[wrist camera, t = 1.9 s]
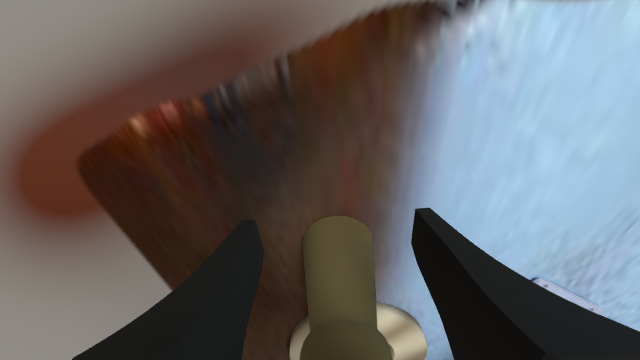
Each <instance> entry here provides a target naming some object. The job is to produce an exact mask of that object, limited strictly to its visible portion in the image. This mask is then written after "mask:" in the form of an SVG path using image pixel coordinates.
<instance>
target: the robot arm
mask: <svg viewBox="0 0 640 360" xmlns="http://www.w3.org/2000/svg"><path fill="white" fill-rule="evenodd" d="M411 244H412V247H413V251H414V254H415V258H416V261H417V264H418V266H419V269H420V271H421V273H422V276H423V278H424V280H425V283H426V285H427V287H428V289H429V292H430V294H431V296H432V299H433V301H434V303H435V305H436V308H437V310H438V312H439V315H440V318H441V320H442V323H443V326H444V329H445V332H446V335H447V338H448V341H449V344H450V347H451V350H452V354H453V357H454V360H640V332H639V331H637V330H635V329H632V328H630V327H627V326H625V325H623V324H620V323H618V322H616V321H613V320H611V319H608V318H606V317H604V316H601V315H599V314H601V313H602V310H601V309H600V308H599V307H598V306H596V305H594V304H592V303H590V302H588V301H586V300H584V299H582V298H580V297H578V296H576V295H574V294H572V293H570V292H568V291H566V290H564V289H563V288H561V287H559V286H557V285H555V284H553V283H551V282H549V281H547V280H545V279H543V278H538V279H535V280H534V281H530V280H528V279H527V278H525V277H523V276H521V275H520V274H518V273H516V272H515V271H513V270H511V269H510V268H508V267H507V266H505V265H503V264H502V263H500V262H499V261H497V260H496V259H494V258H493V257H491V256H490V255H488V254H487V253H486V252H484V251H483V250H481V249H480V248H479V247H477V246H476V245H474V244H473V243H472V242H470V241H469V240H468V239H467V238H465V237H464V236H463V235H462V234H460V233H459V232H458V231H457V230H455V229H454V228H453V227H452V226H450V225H449V224H448V223H447V222H446V221H445V220H443V219H442V218H441V217H440V216H439V215H437V214H436V213H435V212H434V211H433V210H432V209H430V208H419V209H415V216H414V224H413V232H412V240H411ZM263 255H264V250H263V247H262V243H261V240H260V236H259V232H258V229H257V225H256V222H255V220H244V221H241V222H240V223H239V224H238V226H237V227H236V228H235V229H234V230H233V231H232V232H231V233H230V235H229V236H228V237H227V238H226V239H225V240H224V241H223V243H222V244H221V245H220V246H219V247H218V248H217V249H216V250H215V251H214V252H213V254H212V255H211V256H210V257H209V258H208V259H207V260H206V261H205V262H204V263H203V264H202V265H201V266H200V267H199V268H198V269H197V270H196V271H195V272H194V273H193V274H192V275H191V276H189V277H188V278H187V279H186V280H185V281H184V282H183V283H182V284H180V285H179V286H178V287H177V288H176V289H175V290H173V291H172V292H171V293H170V294H168V295H167V296H166V297H165V298H163V299H162V300H161V301H159V302H158V303H157V304H155V305H154V306H153V307H152V308H150V309H149V310H148V311H146V312H145V313H144V314H142V315H141V316H139V317H138V318H137V319H135V320H133V321H132V322H131V323H129V324H128V325H126V326H125V327H123V328H122V329H120V330H119V331H117V332H115V333H114V334H112V335H111V336H109V337H107V338H106V339H104V340H102V341H101V342H99V343H98V344H96V345H94V346H93V347H91V348H89V349H88V350H86V351H84V352H83V353H81V354H79V355H77V356H76V357H74V358H73V359H72V360H241V357H242V351H243V345H244V339H245V333H246V328H247V324H248V320H249V316H250V312H251V309H252V305H253V301H254V298H255V294H256V290H257V286H258V283H259V279H260V275H261V270H262V263H263Z"/></svg>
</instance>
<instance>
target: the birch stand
mask: <svg viewBox="0 0 640 360" xmlns="http://www.w3.org/2000/svg"><path fill="white" fill-rule="evenodd" d="M376 308H377V328H378V330H379V331H380V332H381V333H382V335H383V336H384V337H385V338H386V340H387V342H388V345H389V347H390V350H391V354H392V358H393V360H424V359H425V357H426V354H427V344H426V341H425V337H424V334H423V331H422V328H421V326H420V324H419V323H418V321H417V320H416V319H415V318H414V317H413V316H411V315H410V314H409V313H407V312H405V311H404V310H401V309H399V308H397V307H394V306H391V305H387V304H382V303H376ZM309 333H310V326H309V315H307V316H306V317H304V318H303V319H302V320H301V321H300V322H299V323H298V324H297V325H296V326H295V328H294V330H293V332H292V335H291V343H290V359H291V360H300V351H301V348H302V345H303V341H304V340H305V338H306V337H307V335H308V334H309Z"/></svg>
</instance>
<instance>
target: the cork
mask: <svg viewBox="0 0 640 360" xmlns="http://www.w3.org/2000/svg"><path fill="white" fill-rule="evenodd" d="M302 249H303V260H304V271H305V282H306V293H307V304H308V315H309V326H310V333H309V334H308V335H307V337H306V338H305V340H304V341H303V345H302V348H301V351H300V360H393V358H392V354H391V350H390V347H389V345H388V342H387V340H386V338H385V337H384V336H383V335H382V333H381V332H380V331H379V330H378V328H377V308H376V289H375V269H374V250H373V238H372V234H371V232H370V230H369V229H368V228H367V226H366V225H364V224H363V223H362V222H360V221H359V220H357V219H353V218H350V217H347V216H331V217H326V218H323V219H321V220H319V221H317V222H315V223H313V224H312V225H311V226H310V227H309V228H308V229H307V230H306V231H305V234H304V236H303V238H302Z"/></svg>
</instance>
